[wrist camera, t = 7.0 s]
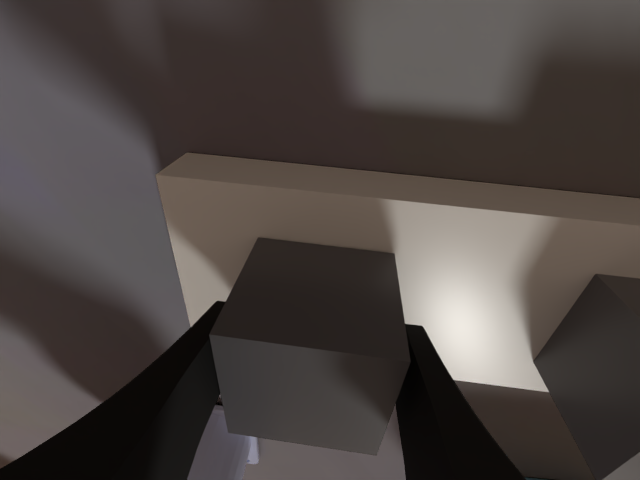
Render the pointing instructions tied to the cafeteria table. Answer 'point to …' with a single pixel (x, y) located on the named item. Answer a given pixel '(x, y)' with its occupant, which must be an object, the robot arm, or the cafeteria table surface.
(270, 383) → the matte gray cuboid
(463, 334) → the power strip
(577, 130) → the cafeteria table surface
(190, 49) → the cafeteria table surface
